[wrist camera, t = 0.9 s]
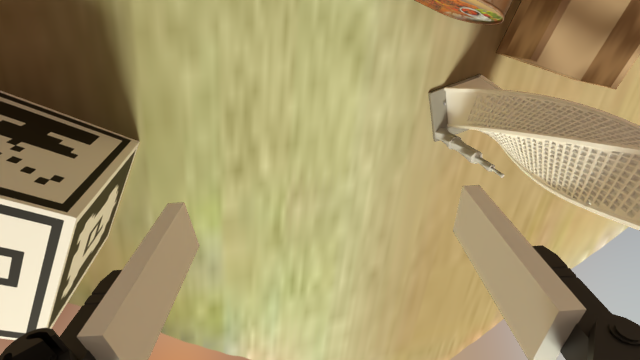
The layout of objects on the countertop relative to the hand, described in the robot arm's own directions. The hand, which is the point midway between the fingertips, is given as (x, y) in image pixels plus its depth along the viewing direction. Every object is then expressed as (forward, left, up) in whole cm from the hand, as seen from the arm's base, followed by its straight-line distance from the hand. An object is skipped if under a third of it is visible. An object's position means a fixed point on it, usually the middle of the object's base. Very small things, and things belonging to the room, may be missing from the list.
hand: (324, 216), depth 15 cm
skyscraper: (+2, +23, -25) cm, 34 cm away
